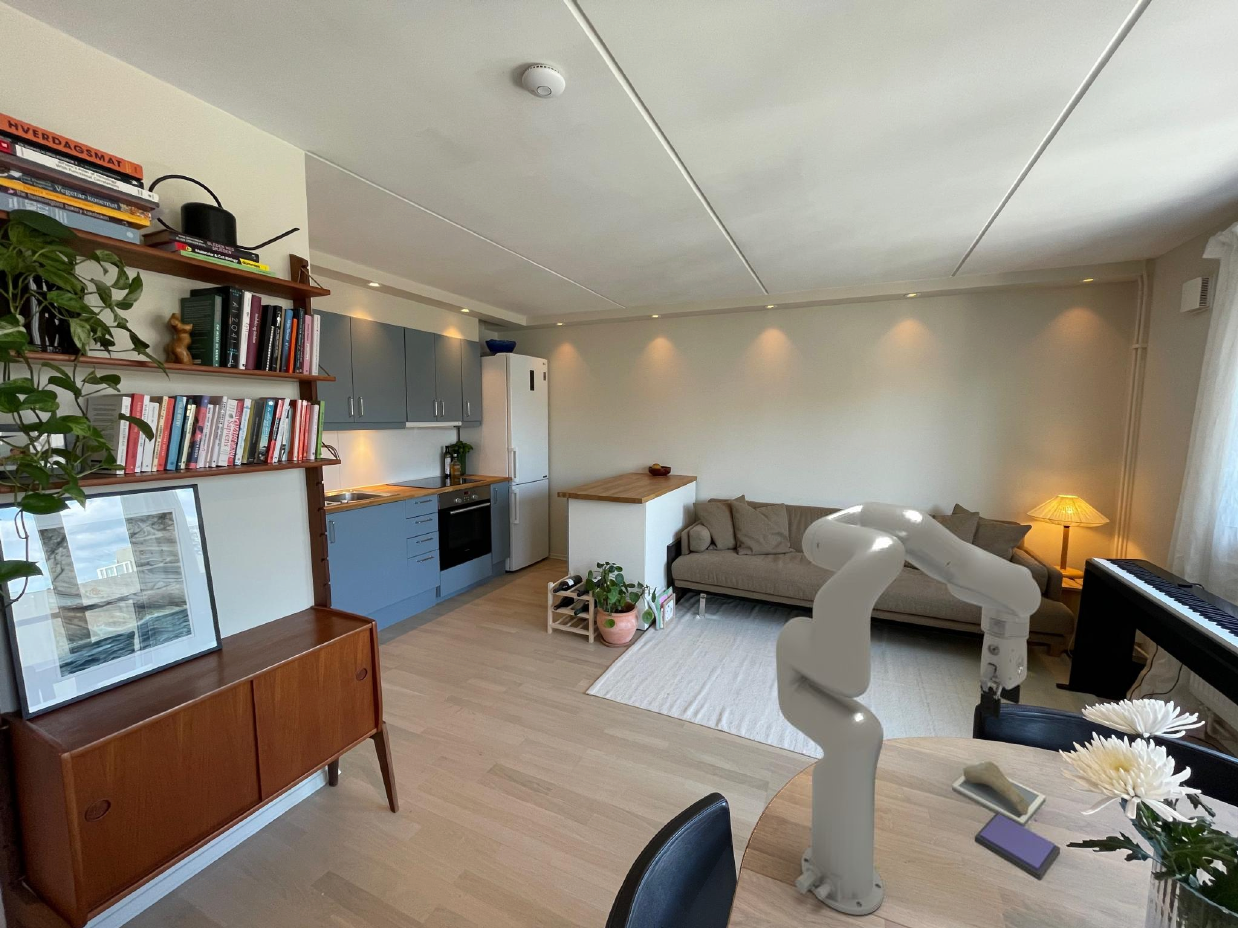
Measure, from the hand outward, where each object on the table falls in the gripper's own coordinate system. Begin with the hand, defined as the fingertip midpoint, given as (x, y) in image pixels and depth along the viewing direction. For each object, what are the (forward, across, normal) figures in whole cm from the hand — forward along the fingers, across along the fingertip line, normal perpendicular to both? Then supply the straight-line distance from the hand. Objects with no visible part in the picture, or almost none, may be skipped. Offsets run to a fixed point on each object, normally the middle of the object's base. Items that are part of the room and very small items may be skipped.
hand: (999, 707), depth 100 cm
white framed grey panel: (+19, +1, 0) cm, 19 cm away
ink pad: (+19, -11, -7) cm, 23 cm away
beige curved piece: (+18, -1, -1) cm, 18 cm away
